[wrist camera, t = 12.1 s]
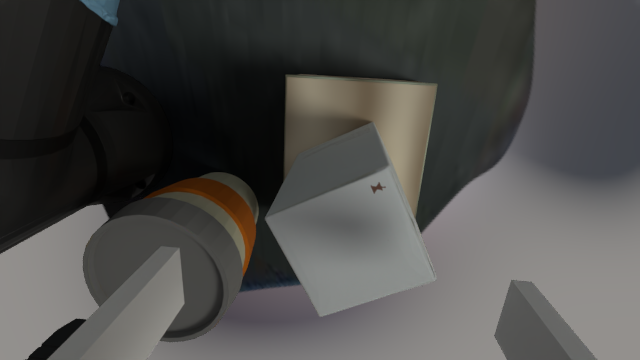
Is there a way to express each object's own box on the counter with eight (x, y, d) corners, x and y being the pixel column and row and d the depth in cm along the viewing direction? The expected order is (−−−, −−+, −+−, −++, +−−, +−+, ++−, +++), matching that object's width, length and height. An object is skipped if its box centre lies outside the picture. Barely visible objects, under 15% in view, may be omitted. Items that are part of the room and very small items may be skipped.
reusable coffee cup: (255, 146, 38) (200, 196, 24) (285, 242, 42) (252, 334, 28) (157, 169, 40) (51, 227, 26) (193, 258, 44) (119, 352, 29)
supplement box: (295, 153, 29) (258, 214, 17) (374, 119, 28) (393, 161, 16) (329, 223, 31) (316, 321, 19) (405, 195, 30) (442, 283, 18)
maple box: (294, 214, 40) (281, 248, 33) (299, 72, 35) (285, 75, 27) (397, 223, 39) (408, 260, 32) (418, 79, 34) (438, 84, 26)
